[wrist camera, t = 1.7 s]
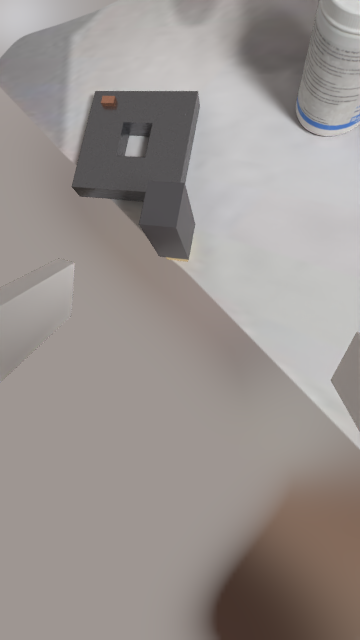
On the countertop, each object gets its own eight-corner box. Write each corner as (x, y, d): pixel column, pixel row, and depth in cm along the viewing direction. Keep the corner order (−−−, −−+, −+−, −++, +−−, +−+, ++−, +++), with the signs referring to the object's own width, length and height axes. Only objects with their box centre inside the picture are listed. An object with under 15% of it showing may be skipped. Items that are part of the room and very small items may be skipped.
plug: (197, 231, 43) (184, 182, 32) (190, 265, 42) (176, 227, 31) (169, 229, 43) (148, 180, 32) (163, 262, 43) (139, 224, 32)
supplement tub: (360, 143, 41) (428, 19, 26) (287, 136, 43) (314, 17, 28) (373, 81, 42) (445, -70, 28) (302, 76, 44) (335, -67, 30)
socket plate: (199, 106, 46) (197, 87, 43) (181, 204, 44) (177, 191, 41) (102, 105, 49) (93, 87, 46) (80, 196, 47) (69, 184, 44)
